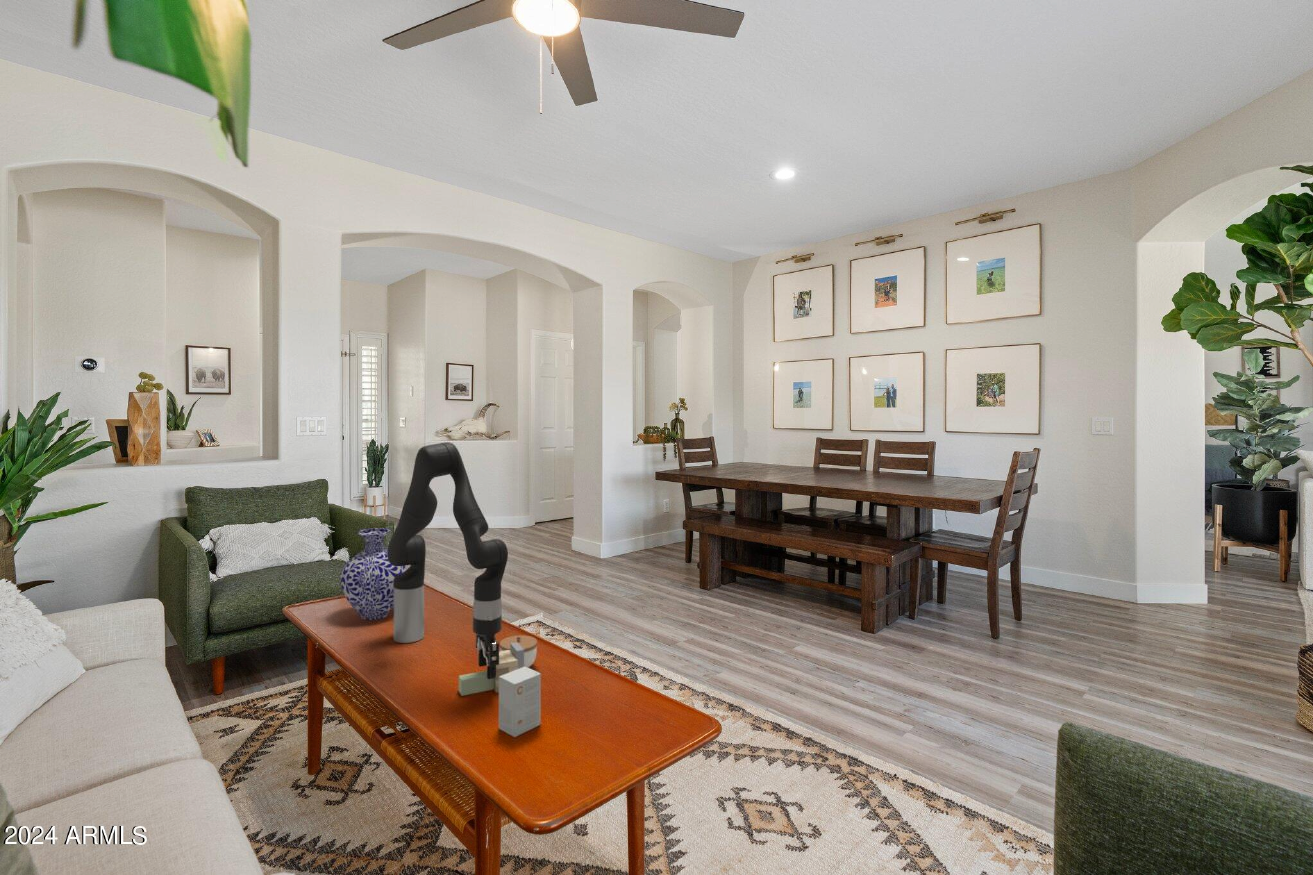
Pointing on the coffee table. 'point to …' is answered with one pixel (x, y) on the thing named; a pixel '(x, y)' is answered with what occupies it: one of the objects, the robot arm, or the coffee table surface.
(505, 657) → the block
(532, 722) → the small box
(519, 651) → the wall
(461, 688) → the pale green rectangular bar
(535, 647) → the lidded jar
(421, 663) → the coffee table surface
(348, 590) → the vase
